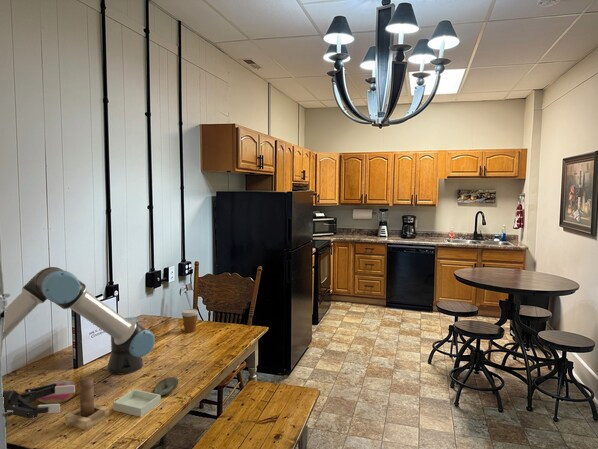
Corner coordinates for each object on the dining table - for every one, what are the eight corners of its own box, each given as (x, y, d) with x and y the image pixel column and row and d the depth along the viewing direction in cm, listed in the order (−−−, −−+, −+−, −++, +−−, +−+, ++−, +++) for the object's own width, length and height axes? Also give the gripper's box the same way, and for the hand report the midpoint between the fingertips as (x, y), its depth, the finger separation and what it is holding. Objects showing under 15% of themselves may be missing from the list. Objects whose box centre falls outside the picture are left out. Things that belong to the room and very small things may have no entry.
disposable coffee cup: (181, 329, 248) (181, 309, 247) (197, 327, 251) (197, 308, 250) (182, 334, 239) (181, 313, 238) (198, 332, 242) (198, 312, 241)
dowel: (77, 421, 148) (76, 381, 147) (88, 415, 152) (86, 376, 151) (87, 424, 146) (86, 383, 145) (97, 418, 150) (96, 378, 149)
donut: (32, 408, 157) (32, 396, 156) (43, 392, 169) (43, 380, 169) (72, 403, 161) (71, 391, 160) (80, 388, 173) (79, 376, 173)
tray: (113, 410, 156) (113, 402, 156) (134, 396, 166) (134, 389, 166) (141, 416, 151) (140, 408, 151) (160, 402, 162) (160, 395, 161)
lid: (183, 391, 171) (183, 379, 171) (162, 400, 164) (161, 387, 164) (169, 383, 178) (169, 371, 178) (148, 391, 171) (148, 379, 170)
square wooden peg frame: (65, 424, 146) (64, 416, 146) (88, 410, 156) (88, 402, 155) (86, 430, 143) (86, 421, 142) (109, 415, 152) (109, 407, 152)
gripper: (19, 395, 156) (80, 391, 160) (-20, 433, 131) (53, 427, 135) (18, 376, 155) (79, 372, 159) (-21, 411, 131) (52, 405, 134)
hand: (67, 398), depth 147 cm, fingers open, 13 cm apart
